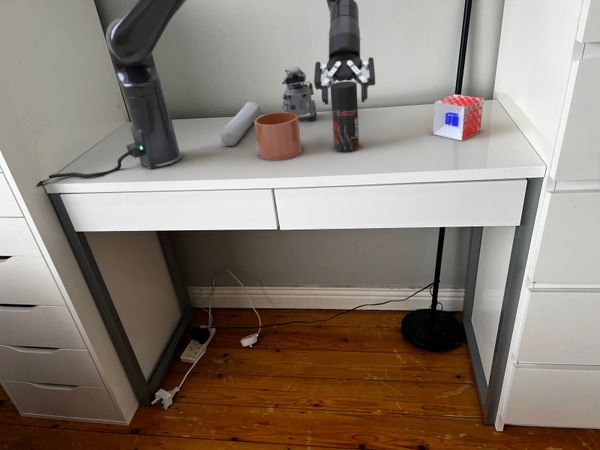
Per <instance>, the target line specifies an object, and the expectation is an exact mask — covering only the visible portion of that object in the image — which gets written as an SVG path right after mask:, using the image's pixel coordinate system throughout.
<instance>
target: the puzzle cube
mask: <svg viewBox="0 0 600 450" xmlns="http://www.w3.org/2000/svg"><path fill="white" fill-rule="evenodd" d="M484 100H485V98H484V97H478V96H477V97H476V96H471V95H465V94H463V95H462V94H456V93H454V94H451V95H449V96H445V97H444V98H441V99H439V100H437V101H434V104H433V105H434V109H433V128H432V129H433V130H432V134H433V135H436V136H439V137H444V138H449V139H454V140H458V141H463V140H465V139H468V138H469V137H471V136H473V135H475V134H478V133H479V132H481V131H482V130H481V129H482V121H483V110H484V102H485V101H484Z"/></svg>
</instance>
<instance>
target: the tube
mask: <svg viewBox="0 0 600 450" xmlns="http://www.w3.org/2000/svg"><path fill="white" fill-rule="evenodd" d="M260 116H261V106H260V105H259V104H258V103H256V102H254V101H249V102H246V103H245V104H244V106H243V107H242V108H241V109H240V110H239V111H238V112H237V114H236V115H235V116H234V117H233V118H232V119H231V120H230V121H229V122H228V123H227V124H226V125H225V126H224V127H223V128H222V130H221V131H220V134H219V137H220V141H221V143H222V144H224V145H225V146H227V147H231V146H232V147H234V146H236V145H237V143H238V142H239V141H240V139H241V138H242V137H243V136H244V134H245V133H246V132H247V131H248V129H250V127H251V126H252V124H253V123H254V121H255V119H256V118H258V117H260Z"/></svg>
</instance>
